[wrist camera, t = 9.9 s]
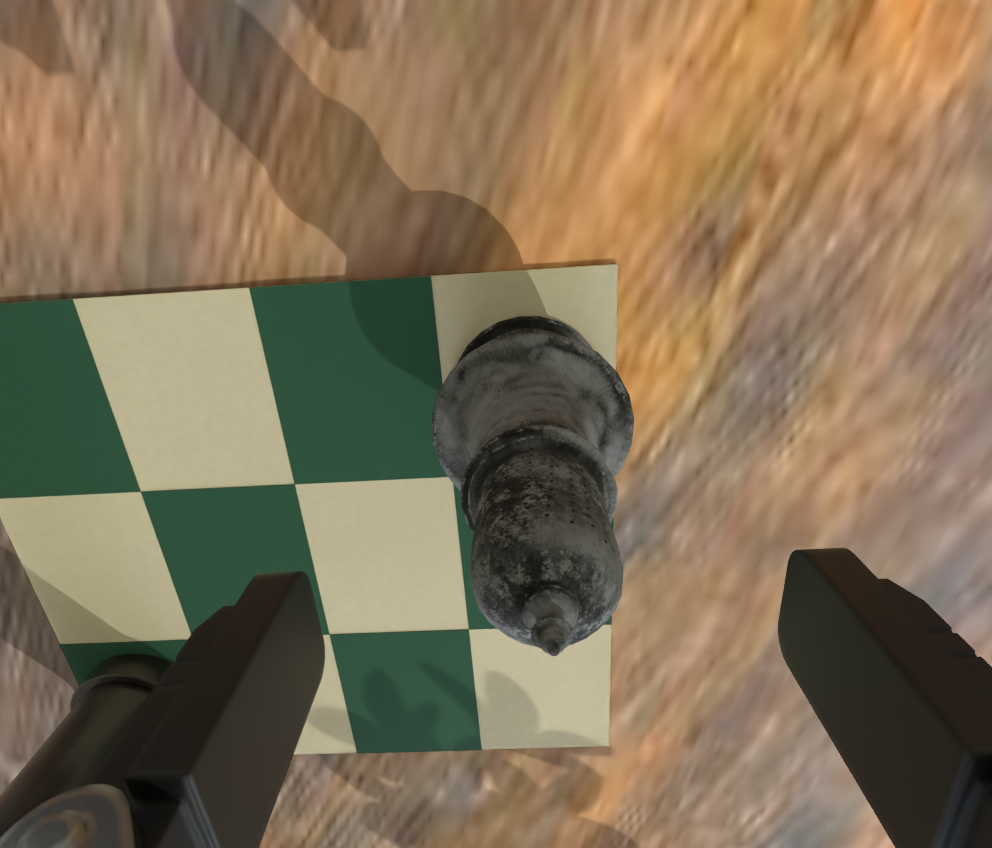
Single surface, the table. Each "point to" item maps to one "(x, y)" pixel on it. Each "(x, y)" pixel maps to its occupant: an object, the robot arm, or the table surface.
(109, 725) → the dark grey cylinder
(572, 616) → the grey tall turned piece
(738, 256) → the table surface
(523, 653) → the chess mat
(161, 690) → the robot arm
